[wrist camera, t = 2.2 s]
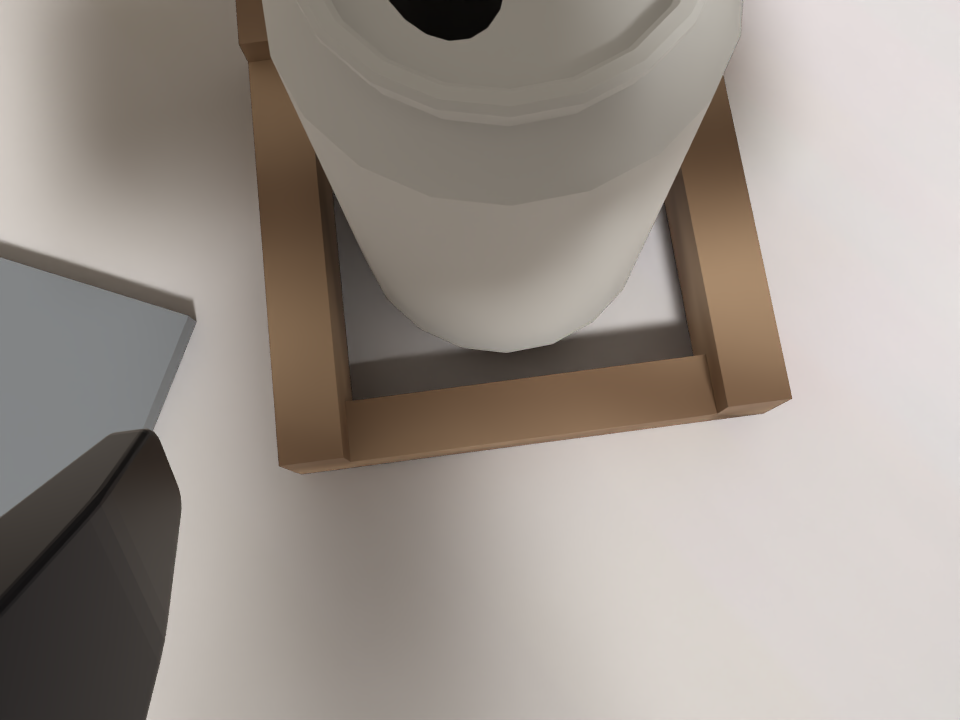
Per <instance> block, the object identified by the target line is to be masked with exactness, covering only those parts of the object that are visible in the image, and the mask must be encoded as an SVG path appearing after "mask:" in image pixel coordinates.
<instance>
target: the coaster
mask: <svg viewBox="0 0 960 720" xmlns="http://www.w3.org/2000/svg"><path fill="white" fill-rule="evenodd" d="M195 324H196V321H195V320H194V319H192V318H191V317H190V316H188V315H185V314H181V313H178V312H175V311H172V310H168V309H165V308H162V307H159V306H156V305H152V304H149V303H146V302H143V301H139V300H136V299H133V298H130V297H127V296H123V295H120V294H117V293H114V292H110V291H107V290H104V289H101V288H98V287H94V286H91V285H88V284H85V283H81V282H78V281H75V280H72V279H69V278H65V277H62V276H59V275H56V274H52V273H49V272H46V271H43V270H40V269H36V268H33V267H30V266H27V265H23V264H20V263H17V262H14V261H11V260H7V259H4V258H1V257H0V517H1V516H2V515H3V514H5V513H6V512H7V511H9V510H10V509H11V508H13V507H14V506H15V505H17V504H18V503H19V502H21V501H22V500H23V499H24V498H26V497H27V496H28V495H30V494H31V493H32V492H34V491H35V490H36V489H38V488H39V487H40V486H42V485H43V484H44V483H45V482H47V481H48V480H49V479H51V478H52V477H53V476H55V475H56V474H57V473H59V472H60V471H61V470H63V469H64V468H65V467H67V466H68V465H69V464H70V463H72V462H73V461H74V460H76V459H77V458H78V457H80V456H81V455H82V454H84V453H85V452H86V451H88V450H89V449H90V448H91V447H93V446H94V445H95V444H97V443H98V442H99V441H101V440H102V439H103V438H105V437H106V436H107V435H109V434H111V433H114V432H121V431H129V430H136V429H145V428H146V429H150V430H152V431H153V429H154V426H155V424H156V421H157V419H158V416H159V414H160V411H161V409H162V406H163V404H164V401H165V399H166V397H167V394H168V392H169V389H170V387H171V384H172V382H173V379H174V377H175V374H176V372H177V369H178V367H179V364H180V362H181V359H182V357H183V354H184V352H185V349H186V347H187V344H188V342H189V339H190V337H191V334H192V332H193V329H194V327H195Z"/></svg>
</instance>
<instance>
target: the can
mask: <svg viewBox="0 0 960 720" xmlns="http://www.w3.org/2000/svg"><path fill="white" fill-rule="evenodd" d="M262 4H263V11H264V17H265V24H266V31H267V37H268V44H269V50H270V56H271V59H272V61H273V63H274V65H275V67H276V69H277V71H278V73H279V76H280V78H281V80H282V82H283V84H284V86H285V88H286V91H287V93H288V95H289V97H290V99H291V101H292V103H293V106H294V108H295V110H296V112H297V114H298V116H299V118H300V121H301V123H302V125H303V127H304V129H305V131H306V133H307V135H308V138H309V140H310V142H311V144H312V146H313V148H314V150H315V153H316V155H317V157H318V159H319V161H320V163H321V165H322V168H323V170H324V172H325V174H326V176H327V178H328V180H329V183H330V185H331V187H332V189H333V191H334V193H335V195H336V197H337V200H338V202H339V204H340V206H341V208H342V210H343V212H344V215H345V217H346V219H347V221H348V223H349V225H350V227H351V230H352V232H353V234H354V236H355V238H356V240H357V242H358V245H359V247H360V249H361V251H362V253H363V255H364V257H365V259H366V262H367V263H368V265H369V267H370V269H371V271H372V272H373V274H374V276H375V278H376V280H377V282H378V283H379V285H380V287H381V289H382V291H383V292H384V294H385V296H386V298H387V299H388V300H389V301H390V302H391V303H392V304H393V305H394V306H395V307H396V308H398V309H399V310H400V311H401V312H402V313H403V314H404V315H405V316H406V317H407V318H408V319H410V320H411V321H412V322H413V323H414V324H415V325H416V326H417V327H418V328H419V329H421V330H423V331H426V332H428V333H430V334H432V335H434V336H437V337H439V338H441V339H443V340H446V341H448V342H450V343H452V344H454V345H457V346H459V347H461V348H469V349H478V350H486V351H495V352H504V353H509V352H514V351H519V350H525V349H530V348H535V347H540V346H545V345H551V344H554V343H555V342H557V341H559V340H561V339H563V338H565V337H566V336H568V335H570V334H572V333H574V332H576V331H577V330H579V329H581V328H583V327H585V326H587V325H588V324H590V323H592V322H593V321H594V320H595V319H596V318H597V317H598V316H599V315H600V314H601V313H602V312H603V310H604V309H605V308H606V307H607V306H608V305H609V304H610V303H611V302H612V301H613V300H614V299H615V298H616V297H617V296H618V294H619V293H620V292H621V291H622V290H623V288H624V286H625V284H626V282H627V280H628V278H629V276H630V273H631V271H632V269H633V267H634V265H635V263H636V261H637V258H638V256H639V254H640V252H641V250H642V248H643V246H644V244H645V241H646V239H647V237H648V235H649V233H650V231H651V229H652V226H653V224H654V222H655V220H656V218H657V216H658V214H659V211H660V209H661V207H662V205H663V203H664V201H665V199H666V197H667V194H668V192H669V190H670V188H671V186H672V184H673V182H674V179H675V177H676V175H677V173H678V171H679V169H680V167H681V164H682V162H683V160H684V158H685V156H686V154H687V152H688V150H689V147H690V145H691V143H692V141H693V139H694V137H695V135H696V132H697V130H698V128H699V126H700V124H701V122H702V120H703V117H704V115H705V113H706V111H707V109H708V107H709V105H710V103H711V100H712V98H713V96H714V94H715V91H716V89H717V87H718V85H719V83H720V80H721V78H722V76H723V74H724V72H725V69H726V67H727V65H728V63H729V60H730V58H731V56H732V54H733V52H734V49H735V47H736V45H737V43H738V40H739V38H740V36H741V22H742V7H743V0H262Z"/></svg>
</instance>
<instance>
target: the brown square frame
mask: <svg viewBox="0 0 960 720" xmlns="http://www.w3.org/2000/svg"><path fill="white" fill-rule="evenodd" d="M236 12H237V25H238V39H239V46H240V47H241V49H242V51H243V53H244V55H245V57H246V59H247V61H248V66H249V79H250V92H251V105H252V118H253V131H254V145H255V158H256V171H257V184H258V197H259V210H260V224H261V237H262V250H263V263H264V276H265V289H266V302H267V316H268V329H269V342H270V355H271V368H272V381H273V395H274V408H275V421H276V434H277V447H278V460H279V466H280V467H283V468H285V469H288V470H291V471H293V472H296V473H299V474H307V473H315V472H322V471H330V470H338V469H345V468H353V467H360V466H368V465H376V464H383V463H391V462H398V461H406V460H414V459H421V458H429V457H436V456H444V455H452V454H459V453H467V452H474V451H482V450H490V449H497V448H505V447H512V446H520V445H528V444H535V443H543V442H550V441H558V440H566V439H573V438H581V437H588V436H596V435H604V434H611V433H619V432H626V431H634V430H642V429H649V428H657V427H664V426H672V425H680V424H687V423H695V422H702V421H710V420H718V419H725V418H733V417H740V416H748V415H756V414H763V413H765V412H767V411H769V410H771V409H773V408H775V407H777V406H779V405H781V404H783V403H785V402H787V401H789V400H790V399H792V395H791V390H790V386H789V381H788V376H787V372H786V367H785V362H784V358H783V353H782V348H781V344H780V339H779V334H778V330H777V325H776V320H775V316H774V311H773V306H772V302H771V297H770V292H769V287H768V283H767V278H766V273H765V269H764V264H763V259H762V255H761V250H760V245H759V241H758V236H757V231H756V227H755V222H754V217H753V213H752V208H751V203H750V199H749V194H748V189H747V184H746V180H745V175H744V170H743V166H742V161H741V156H740V152H739V147H738V142H737V138H736V133H735V128H734V124H733V119H732V114H731V110H730V105H729V100H728V96H727V91H726V86H725V82H724V77H723V76H722V78H721V80H720V83H719V85H718V87H717V89H716V91H715V94H714V96H713V98H712V100H711V103H710V105H709V107H708V109H707V111H706V113H705V115H704V117H703V120H702V122H701V124H700V126H699V128H698V130H697V132H696V135H695V137H694V139H693V141H692V143H691V145H690V147H689V150H688V152H687V154H686V156H685V158H684V160H683V162H682V164H681V167H680V169H679V171H678V173H677V175H676V177H675V179H674V182H673V184H672V186H671V188H670V190H669V192H668V194H667V197H666V199H665V201H664V203H665V208H666V213H667V219H668V224H669V229H670V234H671V240H672V245H673V250H674V256H675V261H676V266H677V271H678V277H679V282H680V287H681V292H682V298H683V303H684V308H685V314H686V319H687V324H688V329H689V335H690V340H691V345H692V351H693V356H689V357H681V358H674V359H666V360H658V361H651V362H643V363H636V364H628V365H620V366H613V367H605V368H597V369H590V370H582V371H575V372H567V373H559V374H552V375H544V376H537V377H529V378H521V379H514V380H506V381H498V382H491V383H483V384H476V385H468V386H460V387H453V388H445V389H438V390H430V391H422V392H415V393H407V394H399V395H392V396H384V397H377V398H369V399H361V400H354V401H352V391H351V381H350V370H349V360H348V350H347V339H346V329H345V319H344V308H343V298H342V288H341V277H340V267H339V257H338V246H337V236H336V226H335V215H334V205H333V195H332V187H331V185H330V183H329V180H328V178H327V176H326V174H325V172H324V170H323V168H322V165H321V163H320V161H319V159H318V157H317V155H316V153H315V150H314V148H313V146H312V144H311V142H310V140H309V138H308V135H307V133H306V131H305V129H304V127H303V125H302V123H301V121H300V118H299V116H298V114H297V112H296V110H295V108H294V106H293V103H292V101H291V99H290V97H289V95H288V93H287V91H286V88H285V86H284V84H283V82H282V80H281V78H280V76H279V73H278V71H277V69H276V67H275V65H274V63H273V61H272V59H271V56H270V50H269V44H268V37H267V31H266V24H265V17H264V11H263V4H262V0H236Z"/></svg>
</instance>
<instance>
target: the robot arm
mask: <svg viewBox="0 0 960 720" xmlns="http://www.w3.org/2000/svg"><path fill="white" fill-rule="evenodd" d="M180 518H181V496H180V491H179V488H178V485H177V483H176V480H175V478H174V475H173V472H172V470H171V467H170V465H169V462H168V460H167V457H166V455H165V452H164V450H163V447H162V445H161V442H160V440H159V438H158V436H157V435H156V434H155V432H153V431H152V430H150V429H146V428H145V429H136V430H129V431H121V432H114V433H111V434H109V435H107V436H106V437H105V438H103V439H102V440H101V441H99V442H98V443H97V444H95V445H94V446H93V447H91V448H90V449H89V450H88V451H86V452H85V453H84V454H82V455H81V456H80V457H78V458H77V459H76V460H74V461H73V462H72V463H70V464H69V465H68V466H67V467H65V468H64V469H63V470H61V471H60V472H59V473H57V474H56V475H55V476H53V477H52V478H51V479H49V480H48V481H47V482H45V483H44V484H43V485H42V486H40V487H39V488H38V489H36V490H35V491H34V492H32V493H31V494H30V495H28V496H27V497H26V498H24V499H23V500H22V501H21V502H19V503H18V504H17V505H15V506H14V507H13V508H11V509H10V510H9V511H7V512H6V513H5V514H3V515H2V516H1V517H0V720H146V717H147V713H148V709H149V705H150V701H151V697H152V693H153V689H154V685H155V681H156V677H157V673H158V669H159V665H160V660H161V656H162V651H163V647H164V642H165V636H166V629H167V623H168V615H169V607H170V599H171V591H172V583H173V574H174V566H175V558H176V550H177V542H178V534H179V526H180Z"/></svg>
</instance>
